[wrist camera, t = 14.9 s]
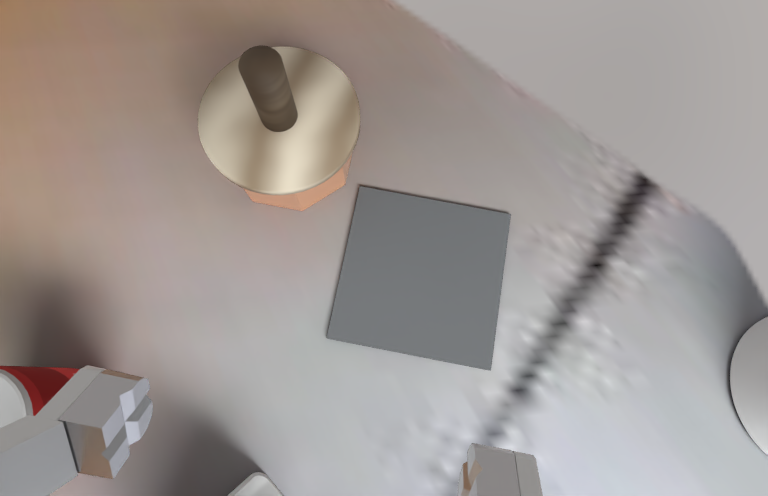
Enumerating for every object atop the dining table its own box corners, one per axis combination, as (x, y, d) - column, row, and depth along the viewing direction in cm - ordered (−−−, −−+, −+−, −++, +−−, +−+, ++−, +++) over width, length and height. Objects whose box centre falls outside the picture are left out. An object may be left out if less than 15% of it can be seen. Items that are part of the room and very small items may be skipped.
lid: (374, 68, 44) (373, 2, 36) (341, 208, 40) (334, 169, 32) (226, 41, 44) (195, -29, 36) (181, 178, 41) (136, 132, 33)
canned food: (37, 362, 42) (-76, 358, 32) (126, 373, 42) (42, 373, 31) (9, 454, 40) (-121, 483, 30) (102, 467, 40) (4, 500, 30)
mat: (509, 215, 47) (510, 214, 46) (489, 370, 43) (490, 370, 42) (360, 187, 47) (359, 186, 47) (327, 338, 43) (326, 338, 43)
